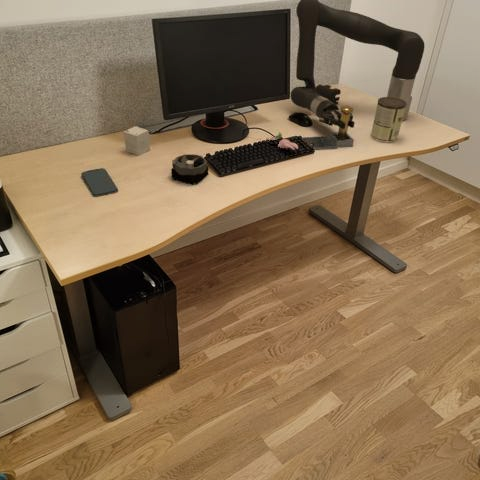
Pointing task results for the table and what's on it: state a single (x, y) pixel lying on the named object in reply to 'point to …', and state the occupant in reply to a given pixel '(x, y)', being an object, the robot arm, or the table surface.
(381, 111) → the coffee can
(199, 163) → the cpu cooler
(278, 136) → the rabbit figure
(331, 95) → the end cap
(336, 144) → the grey tray fixture
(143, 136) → the skincare box
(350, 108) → the hinge pin
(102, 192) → the smartphone
